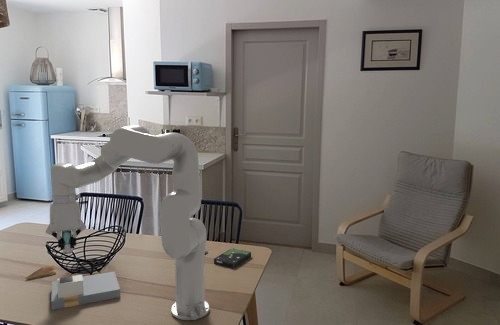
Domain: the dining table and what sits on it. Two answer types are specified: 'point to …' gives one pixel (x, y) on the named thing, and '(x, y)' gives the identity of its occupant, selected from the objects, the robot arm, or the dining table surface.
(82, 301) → the subfloor panel
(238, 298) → the dining table surface
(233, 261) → the disk drive
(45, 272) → the shard
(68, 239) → the green silver cylinder
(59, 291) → the white rectangular block
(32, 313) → the dining table surface
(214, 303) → the dining table surface
